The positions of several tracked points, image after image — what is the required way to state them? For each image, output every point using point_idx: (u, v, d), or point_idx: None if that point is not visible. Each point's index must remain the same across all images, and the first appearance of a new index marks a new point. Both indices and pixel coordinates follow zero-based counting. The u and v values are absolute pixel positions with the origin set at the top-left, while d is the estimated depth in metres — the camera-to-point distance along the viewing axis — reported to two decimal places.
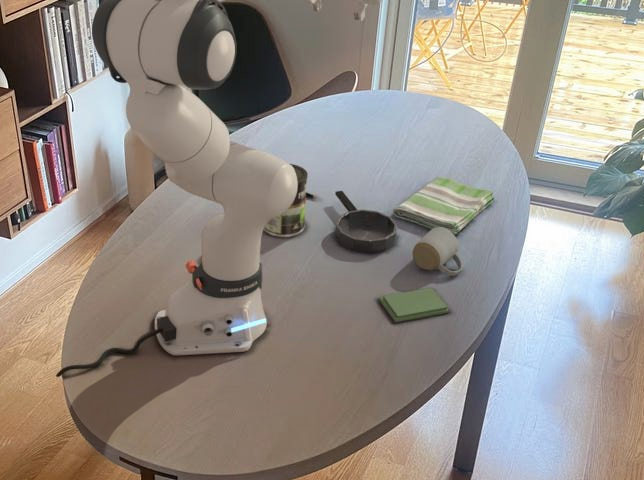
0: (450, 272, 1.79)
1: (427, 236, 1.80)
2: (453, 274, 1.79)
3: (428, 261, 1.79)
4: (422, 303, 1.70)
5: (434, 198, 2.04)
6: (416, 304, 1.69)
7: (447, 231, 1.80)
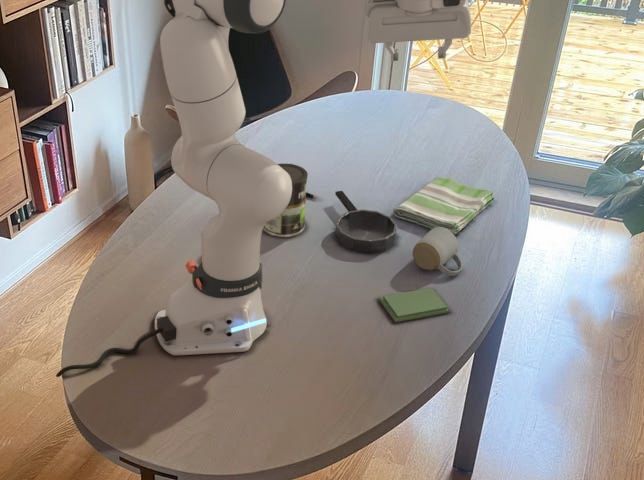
0: (450, 272, 1.79)
1: (427, 236, 1.80)
2: (453, 274, 1.79)
3: (428, 261, 1.79)
4: (422, 303, 1.70)
5: (434, 198, 2.04)
6: (416, 304, 1.69)
7: (447, 231, 1.80)
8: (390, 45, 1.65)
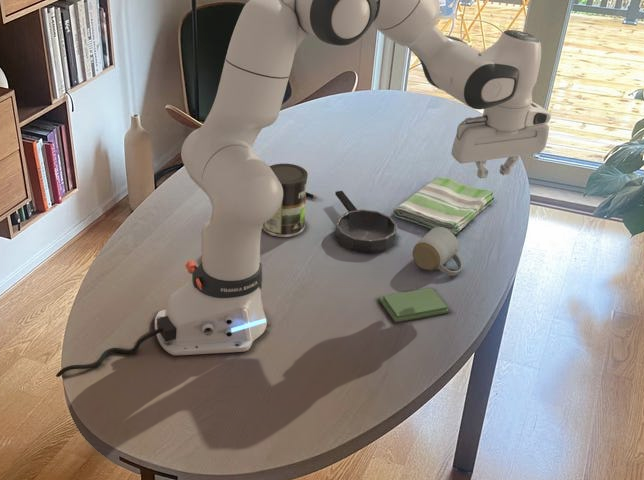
0: (450, 272, 1.79)
1: (427, 236, 1.80)
2: (453, 274, 1.79)
3: (428, 261, 1.79)
4: (422, 303, 1.70)
5: (434, 198, 2.04)
6: (416, 304, 1.69)
7: (447, 231, 1.80)
8: (484, 163, 1.69)
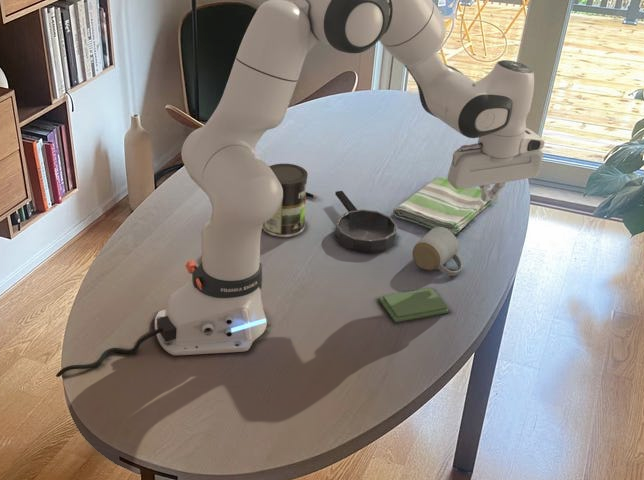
0: (450, 272, 1.79)
1: (427, 236, 1.80)
2: (453, 274, 1.79)
3: (428, 261, 1.79)
4: (422, 303, 1.70)
5: (434, 198, 2.04)
6: (416, 304, 1.69)
7: (447, 231, 1.80)
8: (487, 187, 1.73)
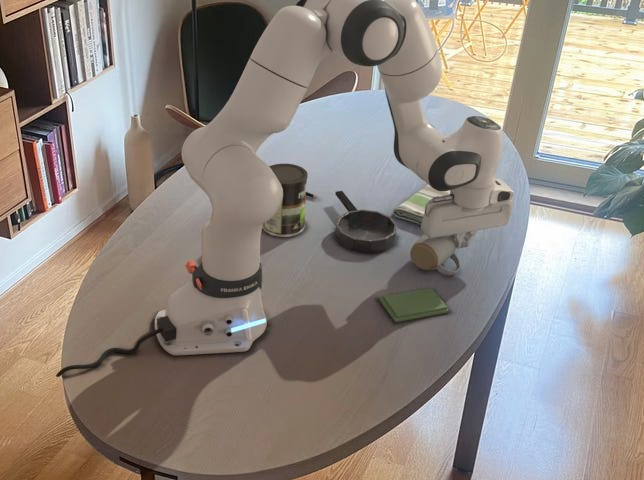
0: (448, 272, 1.78)
1: (424, 236, 1.80)
2: (451, 274, 1.79)
3: (426, 261, 1.79)
4: (422, 303, 1.70)
5: None
6: (416, 304, 1.69)
7: None
8: (460, 235, 1.79)
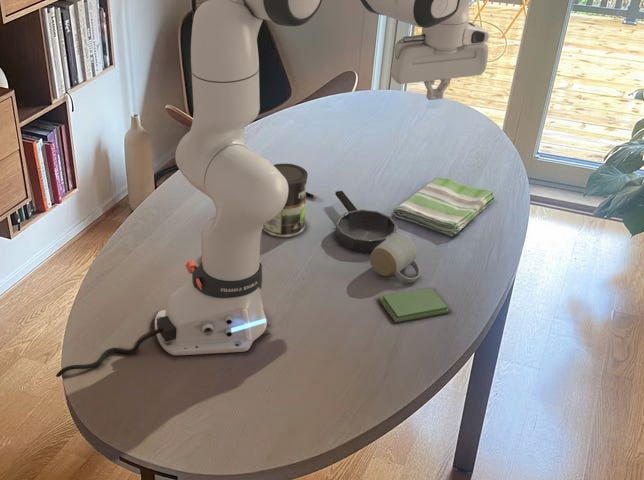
0: (406, 279, 1.76)
1: (385, 242, 1.78)
2: (410, 281, 1.77)
3: (384, 267, 1.77)
4: (422, 303, 1.70)
5: (434, 198, 2.04)
6: (416, 304, 1.69)
7: (405, 237, 1.78)
8: (432, 83, 1.69)
